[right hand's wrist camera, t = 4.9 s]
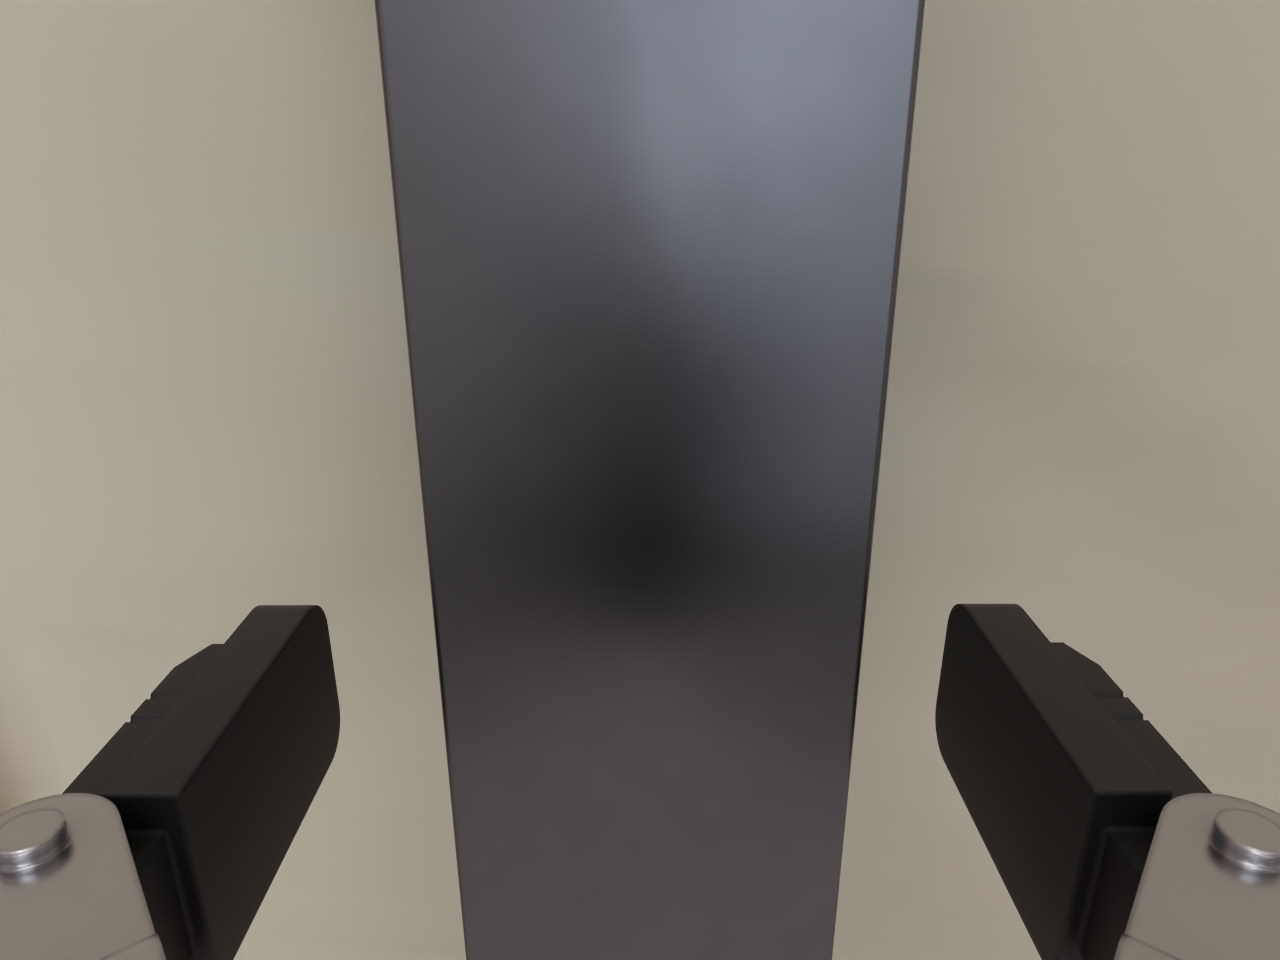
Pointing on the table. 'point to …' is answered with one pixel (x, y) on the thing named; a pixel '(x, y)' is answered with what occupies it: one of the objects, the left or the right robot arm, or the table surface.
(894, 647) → the table surface
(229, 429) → the table surface
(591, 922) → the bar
